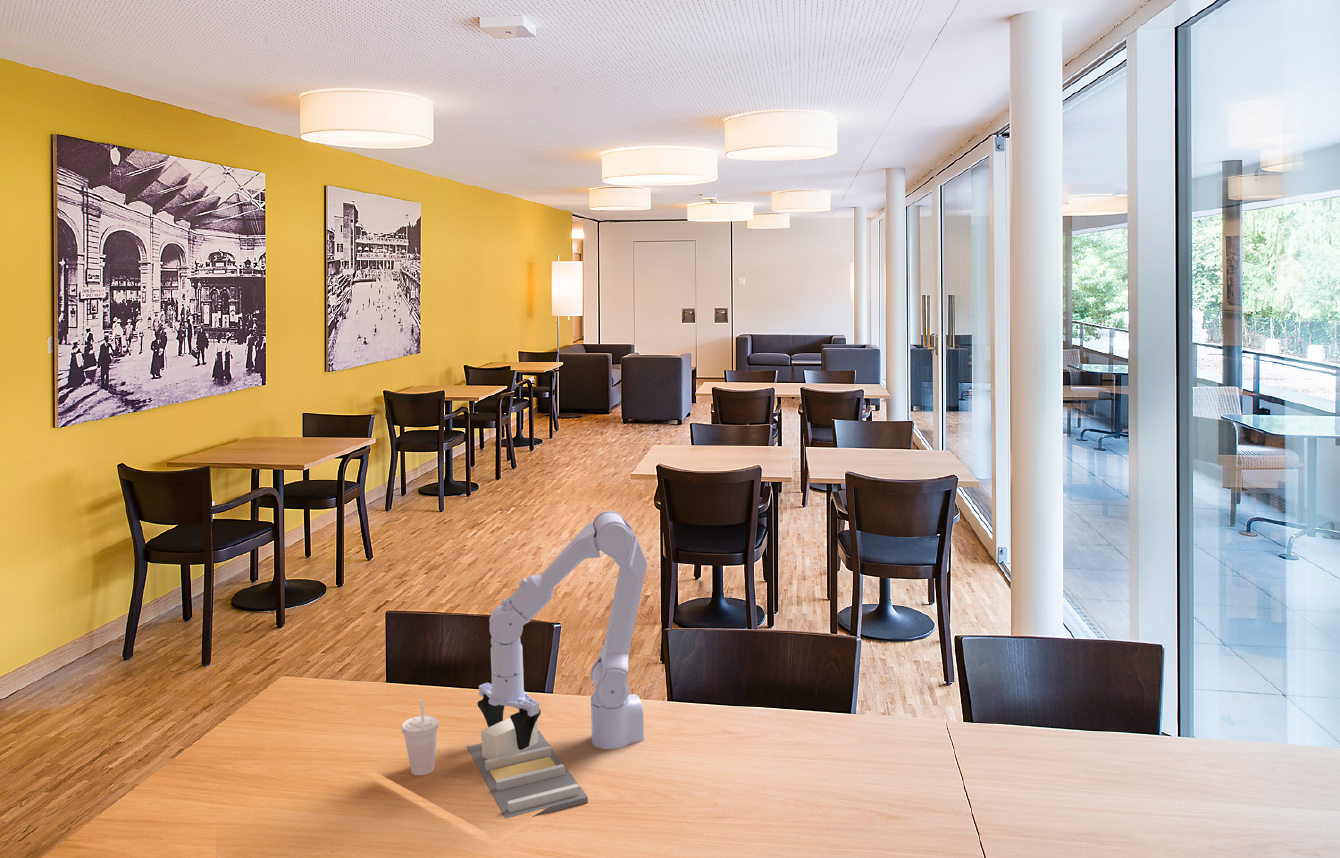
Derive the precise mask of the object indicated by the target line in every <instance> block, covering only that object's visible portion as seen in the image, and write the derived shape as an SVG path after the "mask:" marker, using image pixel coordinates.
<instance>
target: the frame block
mask: <svg viewBox="0 0 1340 858" xmlns="http://www.w3.org/2000/svg"><path fill="white" fill-rule="evenodd" d="M538 729H539V728H538V720H537V721H536V723H535V725H534V728H533V731H532V735H531V739H530V743H529V747H530V746H532V745H534V744H536V743H538V731H539V730H538ZM480 734H481V736H480V737H481V738H480V739H481V743H482V757H484V758H486V759H488V760H489V759H494V758H498V757H502V756H507V755H511V754H516V753H518V752H520V751H522V750H519V749H518V746H517V739H516V732H515V728H514V725H513V722H512V720H511V718H510V717H508V718H506V719H503V721H501V722H499V723H497V724H495V725H493V726H491V727H488V726H487V728H484V729H483V730H480ZM527 748H528V747H527ZM525 749H526V748H525ZM523 750H524V749H523Z"/></svg>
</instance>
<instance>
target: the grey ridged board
mask: <svg viewBox="0 0 1340 858" xmlns="http://www.w3.org/2000/svg"><path fill="white" fill-rule="evenodd" d="M466 748H467V749H468V751H469V754H470V755H471V757H472V759H473V761H474V763H475V765H476V766H477V768H478V770H479V772H480V774H481V776H482V778H483V780H484V781H485V783H486V785H487V787H488V788H489V791H490V792H491V794H492V796H493V798H494V800H495V802H496V803H497V806H498V807H499V810H500V811H501V813H502V815H503V817H504V818H505V819H509V818H512V817H516V816H520V815H525V814H529V813H531V812H532V813H533V812H536V811H539V812H538V813H535V814H534V815H533V816H532V818H533V817H538V816H541V815H545V814H548V813H549V814H550V813H554V812H558V811H561V810H565V809H569V808H572V807H577V806H579V805H580V806H581V805H584V804H587V803H589V797H588V796H587V794H586V793H585V791H584V790H583V789H582V787H581V786H580V784H579V783H578V781H577V780H576V778H574V776H573V775H572V774H571V772H570V771H569V769H568V768H567V767H566V765H565V764H564V762H563V761H562V760H561V759H560V757H559V756H558V755H557V753H556V752H555V750H554V749H553V747H551V744H550V743H549V742H548V741H547V740H546V738H545V737H544V735H543V734H542V732H541V731H540V730H538V743H536V744H534V745H532V746H530V747H528V748H526V749H524V750H522V751H520V752H518V753H516V754H511V755H507V756H502V757H498V758H494V759H489V760H488V759H486V758H484V757H482V742H481V743H477V744H476V743H475V744H471V745H467V746H466ZM540 810H542V811H540Z"/></svg>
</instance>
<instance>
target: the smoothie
mask: <svg viewBox="0 0 1340 858" xmlns="http://www.w3.org/2000/svg"><path fill="white" fill-rule="evenodd" d="M419 703H420V704H419V705H420V715H418V716H415V717H414V716H413V717H410V718H408V719H406V720H405V721H404V722H403V723H402V724H401V734H403V736H404V741H405V745H406V750H407V751H406V752H407V757H408V762H409V766H410V771H411V774H412V775H415V776H425V775H429V774H430V773H432V772H433V771H434V769H435V760H436V747H437V738H438V737H437V736H438V735H437V734H438V729H439V727H440V724H439V723H440V722H439V719H438V718H437V717H434V716H432V715H425V704H424V699H420V701H419Z"/></svg>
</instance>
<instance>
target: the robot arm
mask: <svg viewBox="0 0 1340 858" xmlns="http://www.w3.org/2000/svg"><path fill="white" fill-rule="evenodd" d="M600 551H601V552H602V553H603V554H605V555H606V556H608V557H610V558H611V559H612V560H613V561H614V562H615V563H616V564H617V566H618V567H619V568H618V569H619V570H618V574H617V579H616V585H615V590H614V593H613V599H612V603H611V609H610V613H609V617H608V622H607V628H606V632H605V638H604V641H603V645H602V647H601V649H600V651H599V656H598V658H597V660H596V661H595V662H594V664H593V665H592V668H591V669H590V679H591V681H592V683H593V687H594V692H593V693H592V695H591V696H590V713H591V714H590V717H591V720H590V721H591V742H592V743H591V744H592V745H593V746H594V747H596V748H598V749H602V750H616V749H620V748H624V747H626V746H628V745H633V744H636V743H639V742H643V741H645V730H644V729H645V728H644V725H645V723H644V720H645V719H644V709H643V704H642V701H641V699H640V697H639V696H638V695H637V694H636V693H635V694H633V693H632V694H631V693H630V685H629V682H628V674H629V655H630V650H631V649H630V648H631V644H632V639H633V634H634V630H635V624H636V619H637V616H638V611H639V606H640V602H641V597H642V592H643V587H644V582H645V576H646V573H647V567H648V562H647V558H646V556H645V554H644V552H643V550H642V547H641V544H640V543H639V539H638V537H637V536H636V534H635V532H634V530H633V529H632V526H631V525H630V523H628V521H627V520H625V518H624V517H623V515H621V514H620V513H619V512H616V511H613V510H605V511H602V512H600V513H598V514H597V516H596V517H595V518H594V519H593V521H590V522H588V523H587V524H586V525H585V526H584V527H583V528H582V529H581V530H580V531H579V532H578V534H577V535H576V536H575V537H574V538H573V539H572V540H571V541H570V542H569V543H568V545H567V546H566V547H565V548H564V549H563V550H562V551H561V552H560V553H559V555H557V556H556V558H554V560H553V561H552V562H551V564H549V566H547V568H546V569H545V570H544V571H543V572H542V573H541V574H535V575H534V574H533V575H530V576H529V577H528V578H525V577H523V578H522V579H521V580H520V581H519V583H518V585H519V587H518V588H517V589H516V590H515V591H514V592H513V593H512V594H511V595H510V596H509V597H508V598H507V599H506V598H503V599H502V601H501V602H500V605H498V606H496V607H495V608H494V609H493V610H492V612H491V614H490V617H489V619H488V621H489V634H490V636H491V638H490V645H491V647H490V669H491V683H490V682H484V683H482V684H480V685H478V694H479V696H480V697H482V699H481V700H478V701H477V707H478V709H479V710H480V712H481V713H482V715H483V716H484V719H485V722H486V724H487V725H486V726H487V728H488V727H491V726H493V725H495V724H497V723H499V722H501V721H504V713H505V707H511V708H512V707H513V708H515V709H517V710H518V712H516V713H513V714H510V716H509V718H511V720H512V722H513V725H514V728H515V732H516V739H517V746H518V749H519V750H523V749H525V748H527V747H529V743H530V739H531V735H532V731H533V728H534V725H535V723H536V721H537V722H538V718H539V717H540V715H541V713H542V712H541V709H540V702H538V701H536V700H534V699H533V698H532V697H531V695H529V694H528V693H527V692H526V691H525V688H524V687H525V685H524V657H523V653H524V652H523V645H522V642H521V636H522V635H523V631H524V626H525V625H526V624H528V623H529V622H530V621H531V620H533V618H534V617H536V616H537V615H538V614H539V613H540V612H541V610H543V608H544V607H546V606H547V604H548V603H549V602H550V601H551V600H552V599H553V598H554V588H555V587H556V586H557V585H558V584H559V583H560V582H562V580H563V579H565V578H566V577H567V576H568V575H569V574H570V573H571V572H572V571H573V570H574V569H575V568H576V567H577V566H579V565H580V564H581V563H582V562H583V561H584V560H586V559H597V558H599V559H600V558H601V557H602V556H601V554H600Z"/></svg>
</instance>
